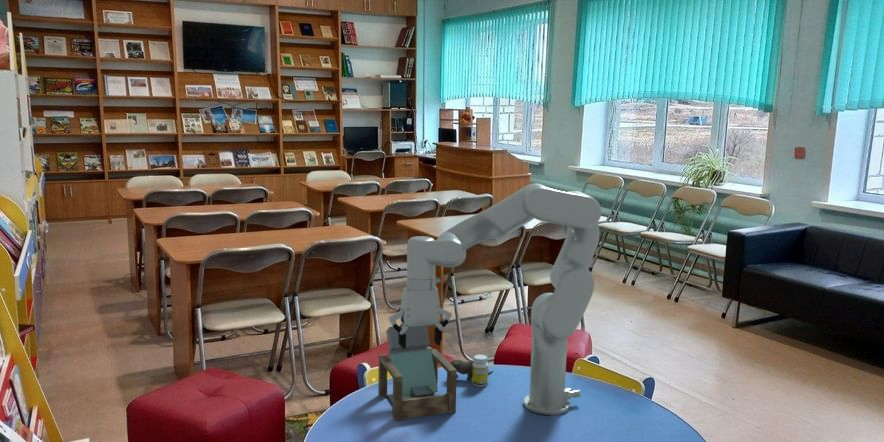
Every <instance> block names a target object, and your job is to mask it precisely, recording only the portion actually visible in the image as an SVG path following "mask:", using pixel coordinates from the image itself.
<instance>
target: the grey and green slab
mask: <svg viewBox="0 0 884 442" xmlns="http://www.w3.org/2000/svg"><path fill="white" fill-rule="evenodd" d="M385 332H386V339H387V344H388V345H387V346H388V352H387V354H388V355H387V356H389V359H390V361H391V362H392V363H393V365H394V366H395V367H396V369H397V370H398V371H399V372H400V374H401V375H402V376H403V382H402V396H410V388H414V387H422V386H429V388H430V389H431V390H432V391H433V392H434V393H438V391H439V389H438V383H436V377H435V371H434V365H433V358H432V352H431V351H432V349H433V348H432V346H431V341H430V336H429V330H428V326H418V327H409V328H408V329H407V330H406V331H405V334H406V348H405V349H403V348H402V347H401V346H400V345H399V343H398V335H399V332H397V331H396V330H395V329H394V328H393V327H392V326H389V327H388V328H387V329H386V331H385Z"/></svg>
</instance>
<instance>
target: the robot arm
mask: <svg viewBox="0 0 884 442" xmlns="http://www.w3.org/2000/svg"><path fill="white" fill-rule="evenodd" d="M601 217H602V208H601V205H600V203H599V201H597V199H596V198H594V197H592V196H590V195H589V194H586V193H584V192H581V191H579V190H578V191H577V190H571V191H567V192H566V191H563V190H559V189H558V190H557V189H554V188H550V187H548V186H546V185H543V184H540V183H538V182H537V183H536V182H535V183H530V184H527V185H526V186H524V187H522V188H519V190H517V191H515V192H514V193H512V194H510V195H509V196H507V197H505V198H504V199H502V200H500V201H499V202H498V203H495V204H494V205H492V206H490V207H488V208H487V209H485V210H482V211H480V212H478V213H477V214H474V215H472V216H470V217H468V218H466V219H464V220H462V221H460V222H459V223H457V224H455V225H454V226H452V227H450V228H448V229H447V230H445V231H443V232H442V233H441V234H440V235H439V236H438V237H437V239H436V240H435V239H434V238H433V237H430V236H425V235H424V236H423V235H420V236H419V235H417V236H412V237H410V238H408V240H407V247H406V286H405V287H403V290H402V295H401V300H400V310H399V311H396V313H394V314H393V315H390V316H389V317H388V320H389V323H390V324H391V327H393V328H394V329H395V330H396V331H397V332H399V335H398V343H399V345H400V346H401V347H402V348H403V349H405V348H406V334H405V331H406V330H407V329H408V328H409V327H418V326H427V327H428V326H435V327H434V330H433V331H434V333H433V334H434V335H433V340H434V344H436V345H437V346H441V342H442V340H443V331H444V329H445V328H446V326H447V325H448V324H449V322H450V320H451V317H452V313H451V312H450V311H449V310H447V309H445V308H442V307H441V302H440V295H439V289H438V287H437V284H439V283H440V284H441V278H440V277H437V276H436V266H439V267H445V268H456V267H458V266H461V265H462V264H463V263H464V262H465V260H466V258H467V250H468V249H470V248H472V247H473V246H475V245H476V244H479V243H481V242H484V241H486V240H492V239H493V240H494V239H500V238H504V237H507V236H508V235H510V234H511V233H513V232H515V231H516V230H517V229H520V228H522V227H523V226H525V225H526V224H528V223H529V222H531V221H532V220H534V219H535V220H538V221H540V222H545V223H549V224H550V223H551V224H553V225H559V226H560V225H561V226H565V227H566V236H565V239H564V242H563V244H562V246H561V249H560V251H559V253H558V256H557V257H556V259H555V262H554V264H553V266H552V269H551V270H550V274H549V279H550V282H551V285H552V286H553V287H554V291H553V292H545V293H542V294H540V295H539V296H537V297H536V298H535V300H534V301H533V303H532V306H531V311H530V321H531V324H530V325H531V349H530V350H531V351H530V352H531V354H530V375H529V376H530V377H529V394H527V395H526V396H525V397H524V398H523V405H524V407H525V408H526V409H527V410H529V411H530V412H532V413H536V414H539V415H548V416H550V415H551V416H555V415H562V414H563V413H564V414H565V413H566V412H568V411H569V410H570V409H571V408H570V405H571V404H570V401H569V400H571V399H572V398H573V399H574V398H580V397H581V391H580V389H575V390H574V389H573V390H572V388H570V387H568V388H566V375H567V374H566V371H567V367H566V366H567V354H568V338H569V337H571V336H572V335H573V334H574V333H575V332H576V330H577V328H578V327H579V325H580V323H581V322H582V321H581V320H582V318H583V316H584V315H585V313H586V310H587V308H588V305H589V303H590V301H591V299H592V297H593V293H594V291H595V279H594V275H593V274H592V272H591V271H590V269H589V268H590V266H591V262H592V261H593V258H594V255H595V253H596V251H597V247H598V244H599V240H600V225H599V221H600V219H601ZM441 315H444V316H443V318H442V320H441ZM399 319H400V322H401V323H400V324H399V325H398V323H397V320H399Z"/></svg>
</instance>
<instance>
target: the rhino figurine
mask: <svg viewBox="0 0 884 442" xmlns="http://www.w3.org/2000/svg"><path fill="white" fill-rule="evenodd" d="M473 362H474V360H470V361H465V360H462V359H453V360H452V361H450V362H449V363H450V364H451V365H452V366H453V367H454V368H455V369H456V370H457V373H458V374H460V375H466V381H467V382H472V365H473ZM493 373H494V370H492V371H490V369H488V377H489V376H490V375H492V374H493ZM458 374H457V378H458V377H459V375H458Z"/></svg>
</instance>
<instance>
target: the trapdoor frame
mask: <svg viewBox="0 0 884 442" xmlns="http://www.w3.org/2000/svg"><path fill="white" fill-rule="evenodd" d="M431 352H432V358H433V365H434V371H435V377H436V383H437V384H438V379H439V378H438V377H439V375H438V374H439V370H438V369H439V365H440V366H441V367H442V368H443V369H444V370H445V372H446V393H441V394H434V395H431V396H424V397H416V398H410V396H402V382H403V376H402V375H401V374H400V372H399V371H398V370H397V369H396V367H395V366H394V365H393V363H392V362H391V361H390V357H388V355H387V354H386V353H384V354H378V377H377V378H378V380H377V381H378V390H377V391H378V393H377V394H378V397H379V398H380V399H383V398H387V399H388V400H389V402H390V403H391V405H392V419H393V420H394V422H399V421H403V420H406V419H407V420H408V419H413V418H421V417H429V416H435V415H443V414H454V413H457V412H456V411H457V378H458V377H457V375H458V374H457V373H458V372H457V370H456V369H455V368H454V367H453V366H452V365H451V364H450V362H449V360H447V359H446V357H444V355H442V354H441V353H440V351H439V350H437V348H432V351H431ZM388 373H389V374H390V376H391V378H392V393H391V394H388Z"/></svg>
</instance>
